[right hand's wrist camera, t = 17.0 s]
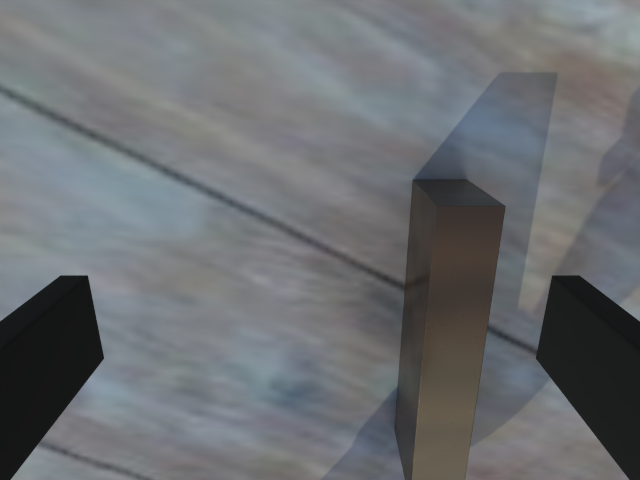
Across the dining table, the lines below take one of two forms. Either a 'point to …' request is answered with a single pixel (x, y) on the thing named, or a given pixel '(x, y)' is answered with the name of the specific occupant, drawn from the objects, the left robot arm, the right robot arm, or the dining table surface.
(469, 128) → the dining table surface
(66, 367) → the right robot arm
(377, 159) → the dining table surface
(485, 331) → the walnut plank
